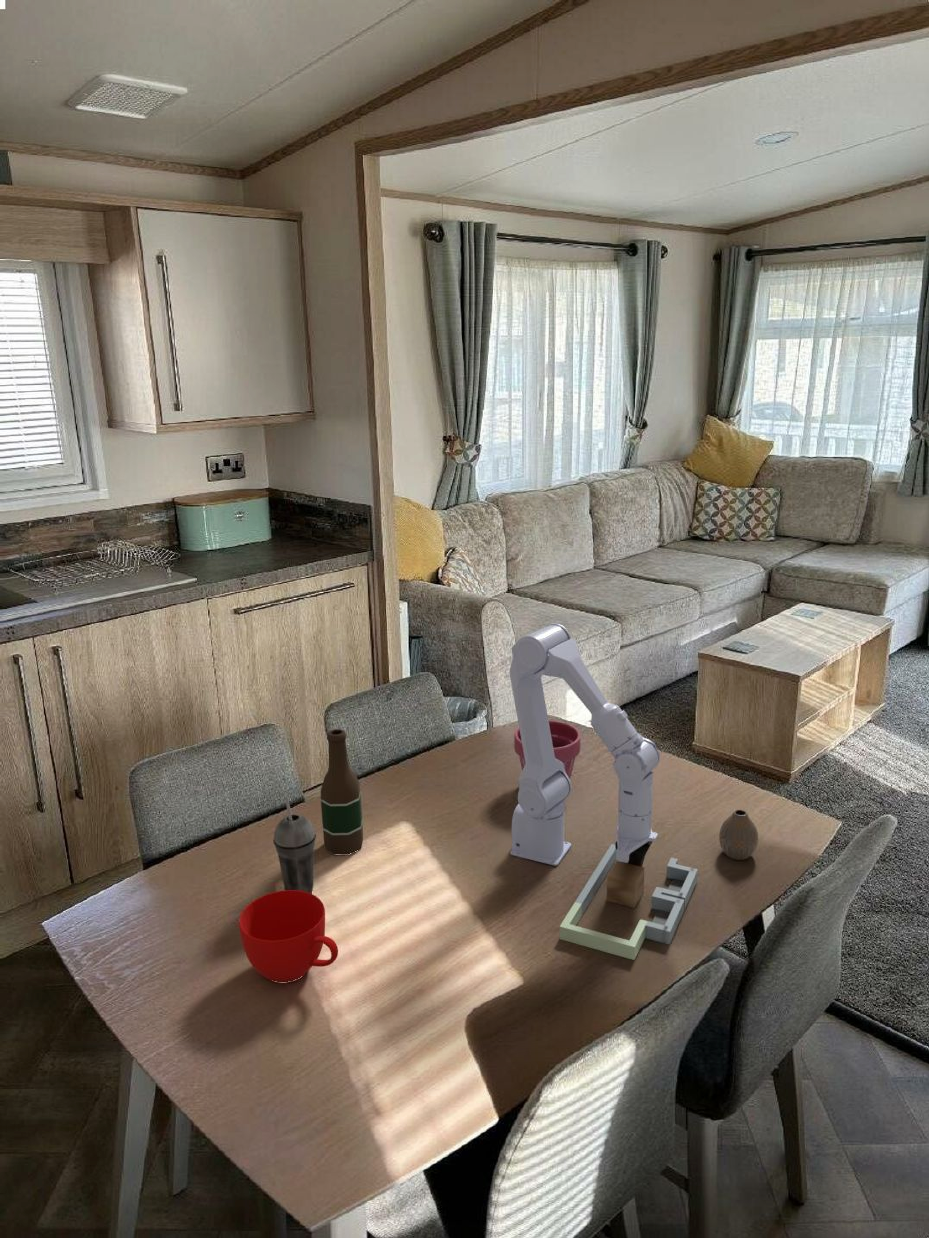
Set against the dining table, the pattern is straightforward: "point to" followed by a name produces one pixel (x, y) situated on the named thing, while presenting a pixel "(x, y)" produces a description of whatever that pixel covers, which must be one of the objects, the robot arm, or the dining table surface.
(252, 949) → the ceramic cup
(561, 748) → the plant pot
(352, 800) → the beer bottle
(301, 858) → the beverage cup
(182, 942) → the dining table surface
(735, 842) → the vase
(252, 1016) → the dining table surface
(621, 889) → the walnut block
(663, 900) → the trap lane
